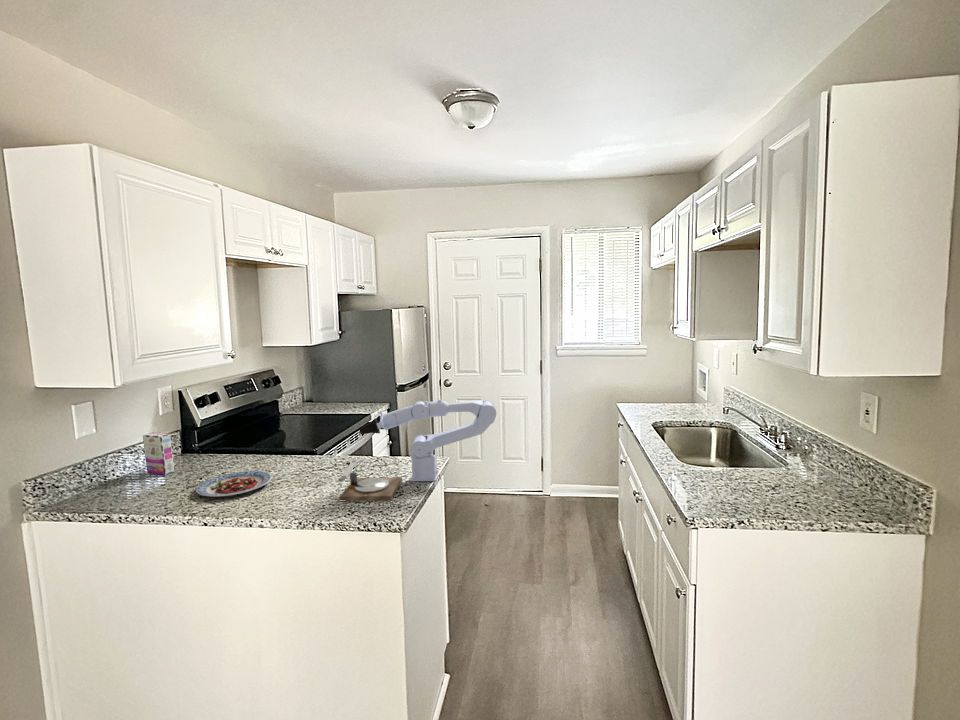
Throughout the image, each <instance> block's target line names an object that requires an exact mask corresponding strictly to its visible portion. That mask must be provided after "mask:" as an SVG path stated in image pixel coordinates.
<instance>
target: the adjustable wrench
mask: <svg viewBox="0 0 960 720" xmlns="http://www.w3.org/2000/svg"><path fill="white" fill-rule="evenodd" d="M362 461H364V462H365V457H364V458H360V457H359V458H358V459H357V458H356V459H354V458H353V457H351V458H349V459H348V460H346V464H347V463H350V464H348V465H347V467H346V468H345V470H344V471H343V473H342V474H341V475H340V476H339V480H340V481H342V480H343V481H346V480H345V479H347V480H348V479H349V477H350V473H352V472H353V471H354V469H355V468H356V466H357V465H356V464H358V463H359V462H362ZM362 463H363V462H362ZM355 465H356V466H355ZM358 465H359V464H358ZM354 467H355V468H354ZM353 468H354V469H353ZM352 470H353V471H352ZM351 471H352V472H351ZM348 476H349V477H348Z"/></svg>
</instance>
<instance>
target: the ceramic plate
mask: <svg viewBox="0 0 960 720" xmlns="http://www.w3.org/2000/svg"><path fill="white" fill-rule="evenodd" d="M271 480H272V475H271V474H270V473H269V472H268V471H267V472H266V471H262V470H261V471H260V470H244V471H243V470H241V471H236V472H230V473H226V474H223V475H218V476H214V477H211V478H209V479H207V480H205V481H204V482H203V481H202V482H201V483H200V484H199V485H198V486H197V487H196V489H195V491H196V493H197V494H198V495H200V496H203V497H213V498H216V497H217V498H218V497H230V496H236V495H237V494H238V495H242V494H245V493H248V492H251V491H254V490H257V489H259V488H262V487H263V486H265V485H266V484H268V483H269V482H271Z"/></svg>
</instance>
